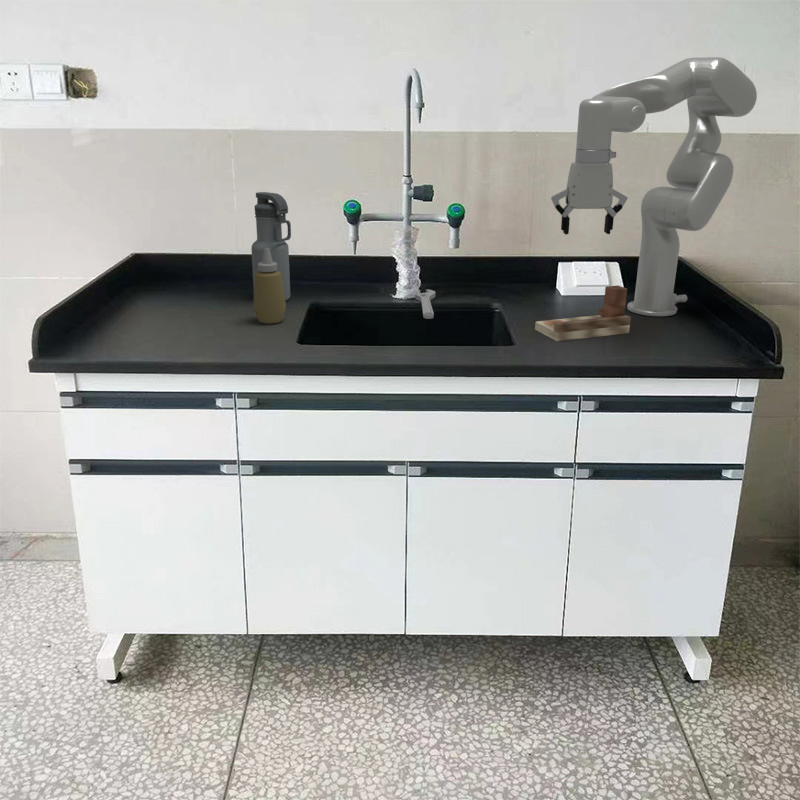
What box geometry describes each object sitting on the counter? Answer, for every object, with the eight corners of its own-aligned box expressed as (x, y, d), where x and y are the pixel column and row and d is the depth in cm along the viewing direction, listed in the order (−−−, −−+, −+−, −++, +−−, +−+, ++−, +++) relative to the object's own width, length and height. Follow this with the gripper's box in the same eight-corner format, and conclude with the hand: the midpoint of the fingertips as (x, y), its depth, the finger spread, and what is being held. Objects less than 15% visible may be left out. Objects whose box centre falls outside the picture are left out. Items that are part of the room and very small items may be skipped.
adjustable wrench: (434, 321, 206) (434, 314, 206) (408, 320, 207) (408, 313, 206) (435, 295, 229) (435, 289, 229) (412, 294, 230) (412, 288, 229)
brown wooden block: (608, 314, 203) (612, 283, 200) (623, 321, 197) (627, 288, 195) (596, 316, 202) (599, 284, 199) (610, 322, 196) (614, 289, 193)
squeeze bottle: (293, 319, 204) (290, 247, 198) (275, 327, 198) (271, 253, 191) (265, 315, 208) (262, 244, 201) (247, 323, 201) (242, 249, 194)
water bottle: (299, 297, 224) (295, 193, 213) (275, 305, 216) (270, 197, 206) (270, 292, 229) (265, 190, 218) (246, 299, 221) (240, 194, 211)
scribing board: (604, 321, 205) (606, 306, 203) (629, 333, 196) (630, 316, 195) (535, 329, 198) (536, 313, 197) (556, 341, 189) (558, 324, 188)
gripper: (626, 155, 188) (619, 230, 195) (551, 155, 188) (546, 230, 195) (635, 158, 181) (627, 236, 188) (557, 159, 181) (552, 236, 188)
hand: (586, 233), depth 191 cm, fingers open, 9 cm apart
